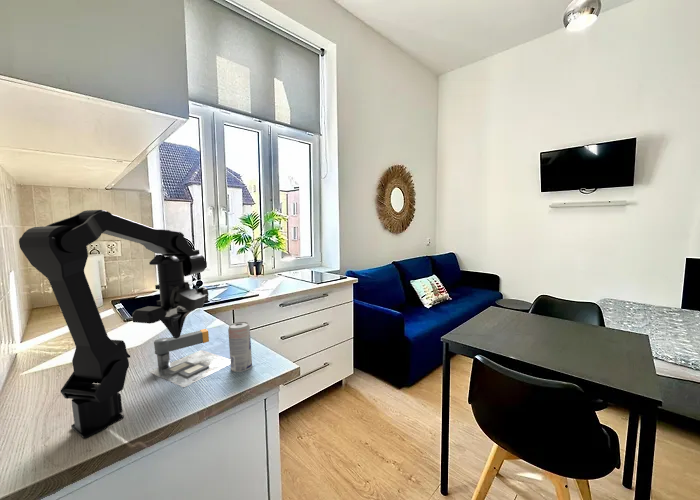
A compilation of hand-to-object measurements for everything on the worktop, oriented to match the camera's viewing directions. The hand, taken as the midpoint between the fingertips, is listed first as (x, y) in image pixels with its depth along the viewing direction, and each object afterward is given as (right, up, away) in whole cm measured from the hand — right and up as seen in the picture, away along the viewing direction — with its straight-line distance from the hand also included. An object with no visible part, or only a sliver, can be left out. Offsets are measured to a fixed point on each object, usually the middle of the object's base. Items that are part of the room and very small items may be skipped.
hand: (176, 337), depth 80 cm
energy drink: (+17, -9, +1) cm, 19 cm away
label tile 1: (+5, -9, 0) cm, 10 cm away
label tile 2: (0, -9, +1) cm, 9 cm away
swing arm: (-1, -4, +5) cm, 6 cm away
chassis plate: (+3, -9, +2) cm, 10 cm away
